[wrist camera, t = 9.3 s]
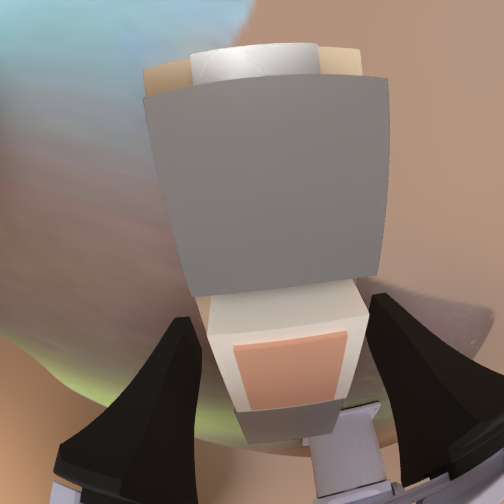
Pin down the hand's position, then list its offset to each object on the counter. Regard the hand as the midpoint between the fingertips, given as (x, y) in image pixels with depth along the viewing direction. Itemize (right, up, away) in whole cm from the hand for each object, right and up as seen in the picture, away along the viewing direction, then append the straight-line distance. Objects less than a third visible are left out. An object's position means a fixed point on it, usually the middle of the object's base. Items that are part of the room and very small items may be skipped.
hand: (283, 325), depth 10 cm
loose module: (0, +1, +2) cm, 3 cm away
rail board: (0, +2, +3) cm, 4 cm away
